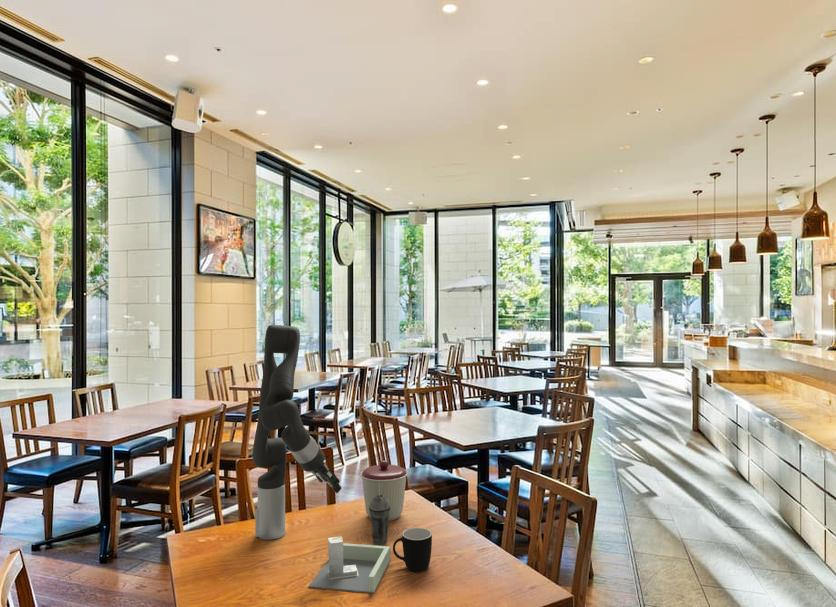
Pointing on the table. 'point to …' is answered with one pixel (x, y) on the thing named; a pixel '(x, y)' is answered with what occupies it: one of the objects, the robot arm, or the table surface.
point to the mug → (415, 548)
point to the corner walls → (369, 559)
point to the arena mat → (349, 582)
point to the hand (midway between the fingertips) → (330, 485)
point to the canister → (385, 486)
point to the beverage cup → (379, 518)
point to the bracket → (338, 559)
